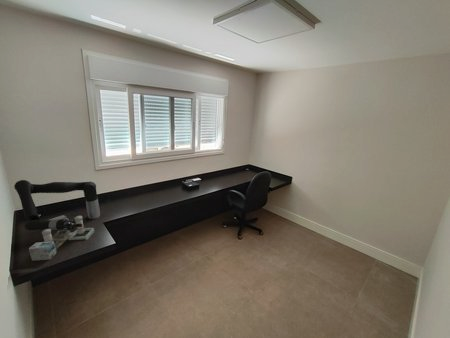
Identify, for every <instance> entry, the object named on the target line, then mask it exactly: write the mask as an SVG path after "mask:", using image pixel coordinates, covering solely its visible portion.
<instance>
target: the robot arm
mask: <svg viewBox="0 0 450 338" xmlns="http://www.w3.org/2000/svg"><path fill="white" fill-rule="evenodd" d="M14 190H15V191H16V192H17V194H18V197H19V199H20V203H21V207H22V212H23V215H24V218H25V219H27V220H28V221H27V222H26V223H24V226H23V228H25V230H27V231H38V230H42V231H43V230H46V229H51V231H53V230H54V231H55V230H57V231H60V230H69V231H70V230H74V229H75V228H76V229H77V227H82V224H76V221H75V217H73V219H71V220H70V219H69V221H68V220H67V219H55V220H49V219H46V220H45V219H44V220H42V219H41V217H40V216H39V214H38V211H37V207H36V204H35V201H34V200H33V197H32V195H34V194H65V193H66V194H67V193H70V192H77V191H83V196H84V197H83V198H84V200H85V205H86V211H87V217H88V219H89V220H95V219H99V218H100V216H101V210H100V205H99V198H98V193H97V184H96V183H95V182H93V181H81V182H80V181H79V182H73V181H71V182H70V181H53V182H47V183H42V184H38V183H35V184H33V183H31V182H30V181H28V180H25V179H19V180H18V181H16V182H15V184H14ZM83 224H86V220H83Z"/></svg>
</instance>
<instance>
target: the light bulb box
mask: <svg viewBox="0 0 450 338" xmlns="http://www.w3.org/2000/svg"><path fill="white" fill-rule="evenodd" d="M28 251H29V254H30V259H31V261H34V262H35V261H47V260H52V258H53V257H55V255H56V254H57V250H56V248H55V244H54V241H50V242H44V241H41V242H40V241H39V242H34V244H33V245H31V246H30V247H29V248H28Z"/></svg>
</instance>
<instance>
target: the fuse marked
mask: <svg viewBox="0 0 450 338" xmlns="http://www.w3.org/2000/svg"><path fill="white" fill-rule="evenodd" d="M74 218H75V221H76V224H82V227H76V230H77V233H76V234H77V235H81V234H84V233H86V231H85V230H84V228H85V225H84V223H83V221H84V220H83V219H84V218H83V216H82V215H77V216H75V217H74Z"/></svg>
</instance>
